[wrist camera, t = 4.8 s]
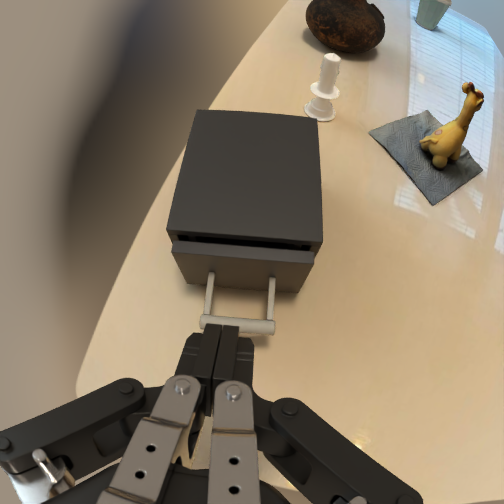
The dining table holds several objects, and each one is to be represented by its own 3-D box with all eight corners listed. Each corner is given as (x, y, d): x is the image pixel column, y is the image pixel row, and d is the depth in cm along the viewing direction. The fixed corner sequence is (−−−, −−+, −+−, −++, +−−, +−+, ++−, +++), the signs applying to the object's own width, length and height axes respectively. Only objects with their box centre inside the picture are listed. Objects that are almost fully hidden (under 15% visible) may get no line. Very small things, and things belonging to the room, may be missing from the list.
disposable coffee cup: (409, 15, 75) (420, -19, 62) (437, 26, 75) (449, -6, 61) (412, 25, 71) (425, -11, 58) (442, 38, 70) (457, 3, 57)
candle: (307, 98, 51) (317, 42, 40) (336, 106, 50) (352, 51, 39) (301, 116, 49) (312, 57, 38) (333, 125, 48) (350, 67, 37)
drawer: (296, 343, 34) (313, 328, 26) (180, 332, 34) (160, 315, 26) (300, 186, 42) (311, 140, 34) (205, 178, 42) (198, 132, 34)
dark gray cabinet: (302, 282, 38) (323, 242, 28) (185, 272, 38) (165, 229, 28) (303, 173, 44) (317, 118, 34) (204, 166, 44) (196, 109, 34)
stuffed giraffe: (483, 170, 46) (524, 112, 32) (431, 207, 43) (481, 137, 29) (426, 112, 52) (453, 50, 38) (366, 136, 49) (391, 59, 34)
